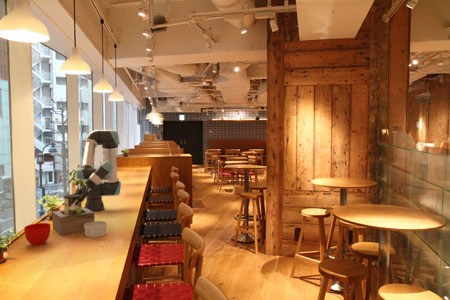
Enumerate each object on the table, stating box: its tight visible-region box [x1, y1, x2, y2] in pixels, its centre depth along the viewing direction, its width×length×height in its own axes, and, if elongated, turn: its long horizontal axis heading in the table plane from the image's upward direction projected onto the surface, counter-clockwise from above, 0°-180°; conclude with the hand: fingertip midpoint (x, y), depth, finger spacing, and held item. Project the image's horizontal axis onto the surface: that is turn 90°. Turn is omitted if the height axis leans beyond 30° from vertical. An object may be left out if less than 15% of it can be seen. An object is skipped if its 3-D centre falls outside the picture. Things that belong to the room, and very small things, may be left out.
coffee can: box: [63, 193, 83, 215], centre depth 224 cm, size 10×10×14 cm
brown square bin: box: [51, 206, 96, 237], centre depth 225 cm, size 20×20×12 cm
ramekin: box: [84, 220, 108, 239], centre depth 212 cm, size 13×13×7 cm
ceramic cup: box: [23, 222, 52, 246], centre depth 198 cm, size 13×17×10 cm
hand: (69, 207), depth 223 cm, fingers open, 13 cm apart
